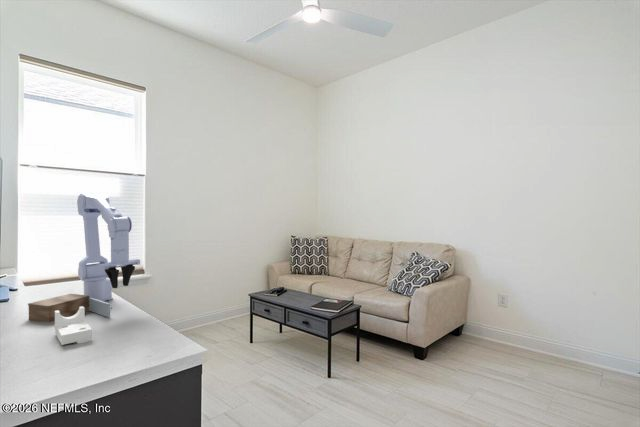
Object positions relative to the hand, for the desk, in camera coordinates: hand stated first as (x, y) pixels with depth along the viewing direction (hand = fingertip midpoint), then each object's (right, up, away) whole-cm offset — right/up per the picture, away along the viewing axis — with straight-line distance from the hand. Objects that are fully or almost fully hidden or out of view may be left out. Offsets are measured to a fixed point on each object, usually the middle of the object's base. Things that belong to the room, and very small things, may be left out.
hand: (120, 286), depth 126 cm
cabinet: (-20, -10, -3) cm, 22 cm away
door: (-6, -9, -2) cm, 11 cm away
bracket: (0, -10, -24) cm, 26 cm away
